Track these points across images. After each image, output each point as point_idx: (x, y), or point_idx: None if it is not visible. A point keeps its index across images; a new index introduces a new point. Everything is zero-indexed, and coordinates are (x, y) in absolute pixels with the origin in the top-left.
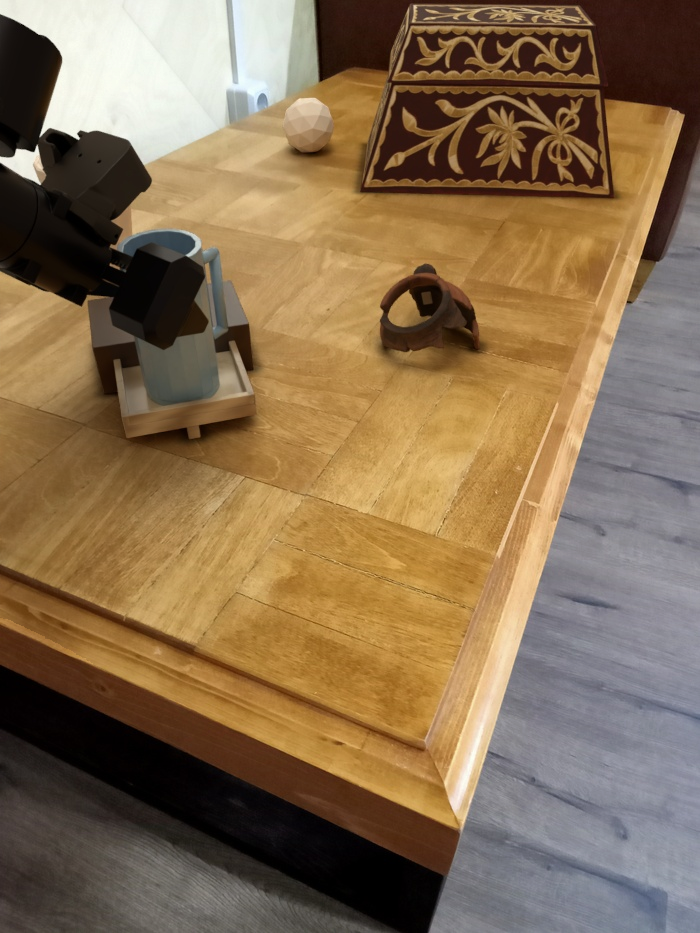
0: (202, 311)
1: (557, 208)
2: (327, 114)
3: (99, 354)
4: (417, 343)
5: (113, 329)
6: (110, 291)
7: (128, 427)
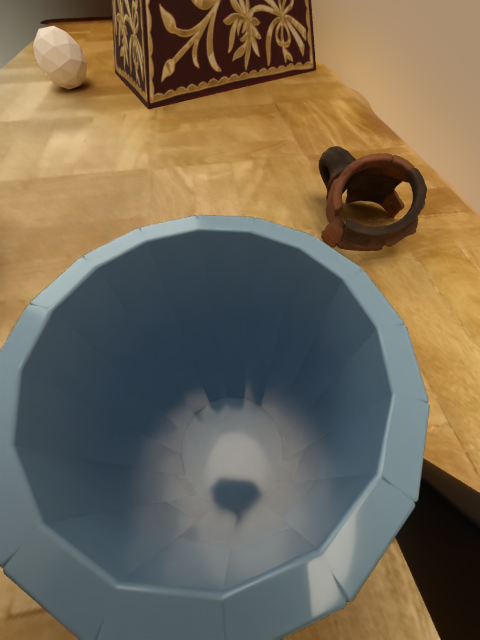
0: (445, 472)
1: (294, 85)
2: (74, 42)
3: None
4: (396, 237)
5: None
6: None
7: None
